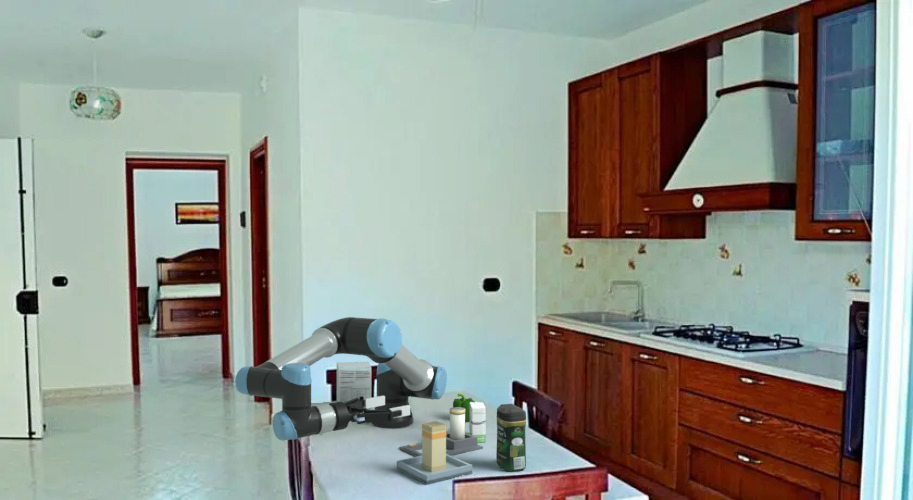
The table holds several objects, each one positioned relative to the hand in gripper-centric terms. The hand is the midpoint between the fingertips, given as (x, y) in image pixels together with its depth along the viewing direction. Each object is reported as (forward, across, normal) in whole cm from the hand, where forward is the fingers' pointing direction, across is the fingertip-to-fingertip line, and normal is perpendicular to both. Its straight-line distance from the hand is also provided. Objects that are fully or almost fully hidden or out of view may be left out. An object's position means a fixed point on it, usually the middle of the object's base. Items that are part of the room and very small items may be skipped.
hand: (396, 404), depth 207 cm
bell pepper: (+52, -36, -22) cm, 67 cm away
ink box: (+41, -14, -21) cm, 48 cm away
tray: (+10, +5, -20) cm, 23 cm away
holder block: (+24, -12, -21) cm, 34 cm away
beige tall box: (+10, +5, -19) cm, 22 cm away
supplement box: (+27, -76, -22) cm, 83 cm away
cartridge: (+31, -12, -21) cm, 39 cm away
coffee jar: (+30, +15, -21) cm, 40 cm away
